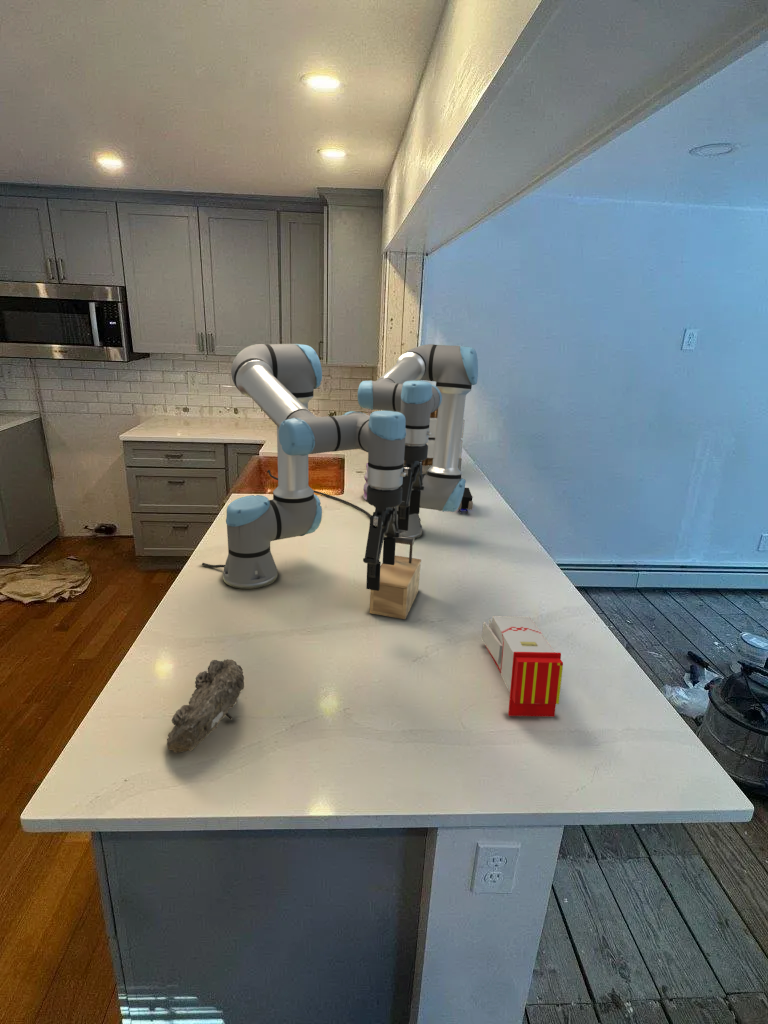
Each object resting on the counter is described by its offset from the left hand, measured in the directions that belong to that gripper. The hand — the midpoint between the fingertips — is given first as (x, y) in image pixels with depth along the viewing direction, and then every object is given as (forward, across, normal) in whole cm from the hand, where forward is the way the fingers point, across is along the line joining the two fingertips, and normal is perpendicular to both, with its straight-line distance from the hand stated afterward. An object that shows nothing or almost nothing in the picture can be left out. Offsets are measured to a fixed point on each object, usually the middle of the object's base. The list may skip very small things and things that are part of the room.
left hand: (381, 576), depth 127 cm
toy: (+18, -2, -32) cm, 36 cm away
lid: (+9, +22, +1) cm, 24 cm away
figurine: (+18, +105, +31) cm, 111 cm away
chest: (+18, +22, +1) cm, 28 cm away
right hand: (-3, +28, 0) cm, 28 cm away
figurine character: (+18, +104, -7) cm, 106 cm away
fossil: (+18, -33, +24) cm, 45 cm away
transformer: (+18, +150, +20) cm, 153 cm away
